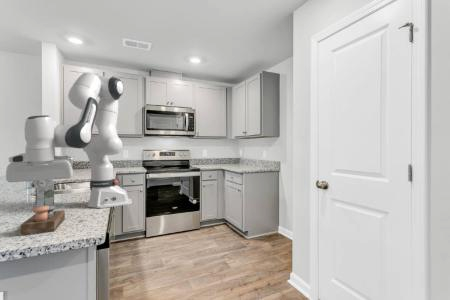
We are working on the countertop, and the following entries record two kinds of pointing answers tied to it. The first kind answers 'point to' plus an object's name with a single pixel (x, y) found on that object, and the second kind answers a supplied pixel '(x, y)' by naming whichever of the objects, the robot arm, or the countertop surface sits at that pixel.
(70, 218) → the countertop surface
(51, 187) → the syrup box
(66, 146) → the robot arm
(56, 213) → the wooden frame holder
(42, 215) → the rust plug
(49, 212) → the grey plug
